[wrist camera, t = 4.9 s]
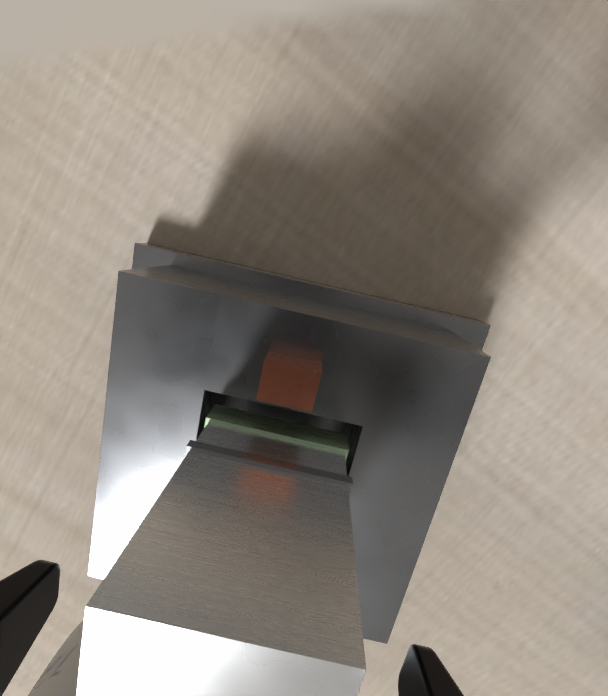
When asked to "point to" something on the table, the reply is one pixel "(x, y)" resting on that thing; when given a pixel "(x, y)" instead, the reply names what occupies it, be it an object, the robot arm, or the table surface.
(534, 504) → the table surface
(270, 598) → the column
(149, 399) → the housing
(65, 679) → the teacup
